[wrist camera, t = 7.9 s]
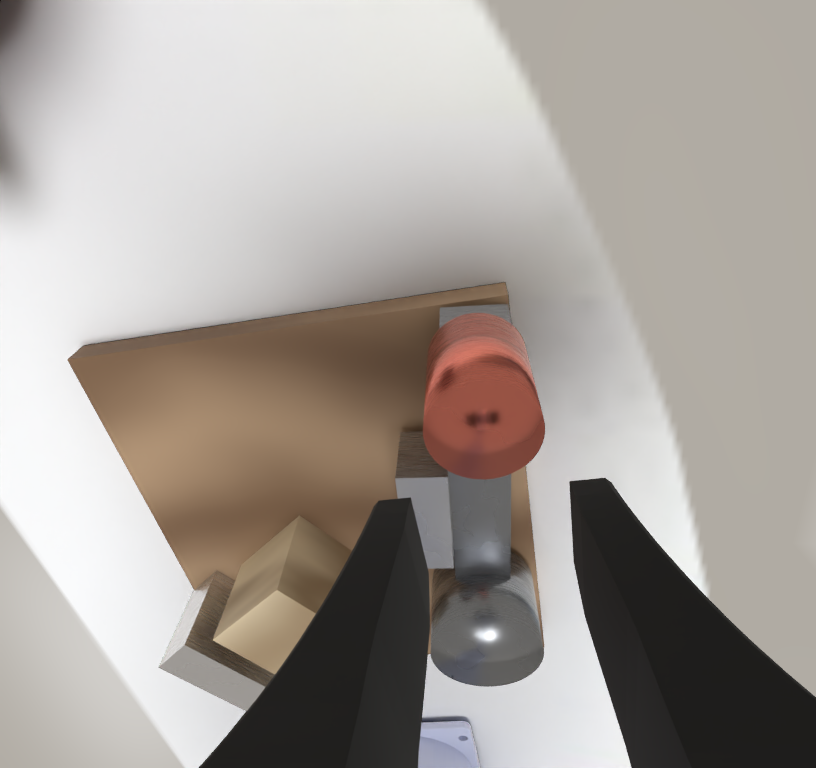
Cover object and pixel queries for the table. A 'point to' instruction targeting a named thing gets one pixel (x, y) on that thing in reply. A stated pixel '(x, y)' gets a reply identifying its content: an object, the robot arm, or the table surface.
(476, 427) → the lever
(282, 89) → the table surface
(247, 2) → the table surface
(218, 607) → the brown grey rectangular block
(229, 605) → the tan cube
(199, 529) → the board
